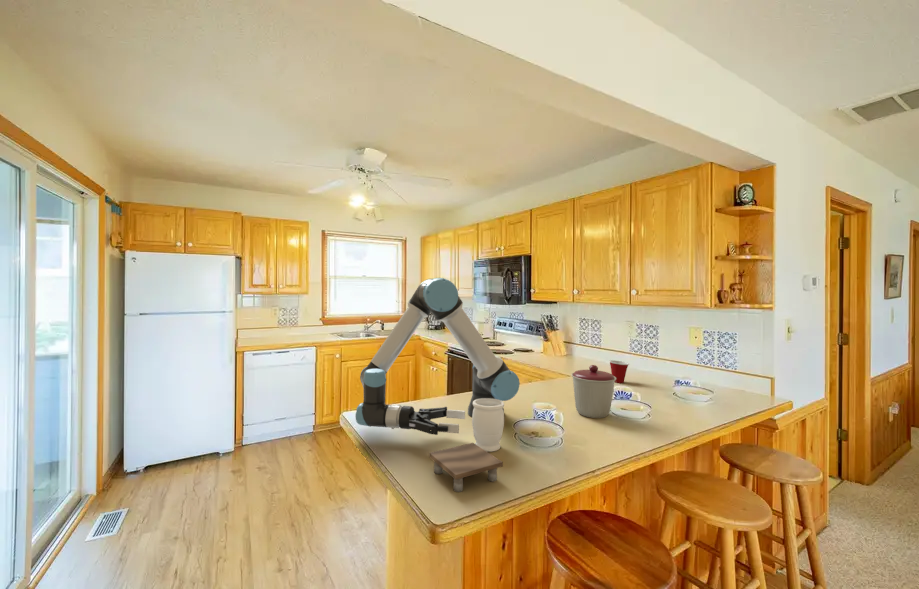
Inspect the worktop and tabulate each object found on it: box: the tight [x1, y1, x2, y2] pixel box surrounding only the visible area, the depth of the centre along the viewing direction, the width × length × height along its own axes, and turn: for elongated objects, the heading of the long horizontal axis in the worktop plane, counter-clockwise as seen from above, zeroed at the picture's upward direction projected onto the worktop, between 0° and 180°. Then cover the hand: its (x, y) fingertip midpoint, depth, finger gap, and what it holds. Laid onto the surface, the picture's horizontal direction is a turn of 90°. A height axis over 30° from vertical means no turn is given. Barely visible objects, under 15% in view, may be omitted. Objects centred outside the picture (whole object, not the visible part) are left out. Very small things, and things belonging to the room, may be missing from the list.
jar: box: [471, 398, 505, 453], centre depth 128 cm, size 11×10×15 cm
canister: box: [570, 364, 616, 419], centre depth 163 cm, size 18×18×21 cm
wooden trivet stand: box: [428, 442, 504, 493], centre depth 108 cm, size 15×15×5 cm
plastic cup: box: [608, 359, 630, 384], centre depth 222 cm, size 11×11×12 cm
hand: (462, 421), depth 129 cm, fingers open, 13 cm apart
